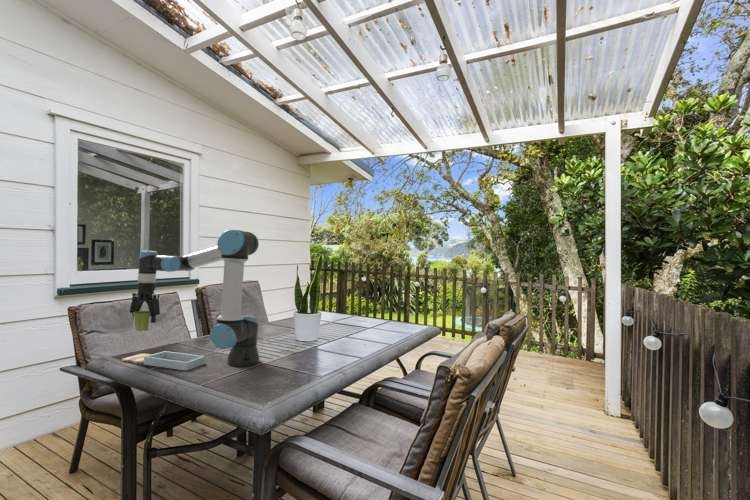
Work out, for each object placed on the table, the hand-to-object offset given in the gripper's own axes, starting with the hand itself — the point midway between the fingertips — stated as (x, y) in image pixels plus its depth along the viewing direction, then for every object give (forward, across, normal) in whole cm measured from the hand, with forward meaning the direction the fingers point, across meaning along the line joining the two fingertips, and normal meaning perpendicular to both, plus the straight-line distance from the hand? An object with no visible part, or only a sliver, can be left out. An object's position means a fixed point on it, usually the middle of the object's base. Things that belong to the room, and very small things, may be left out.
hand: (143, 328), depth 180 cm
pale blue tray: (+15, -19, 0) cm, 24 cm away
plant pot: (+1, 0, 0) cm, 1 cm away
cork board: (+15, 0, 0) cm, 15 cm away
